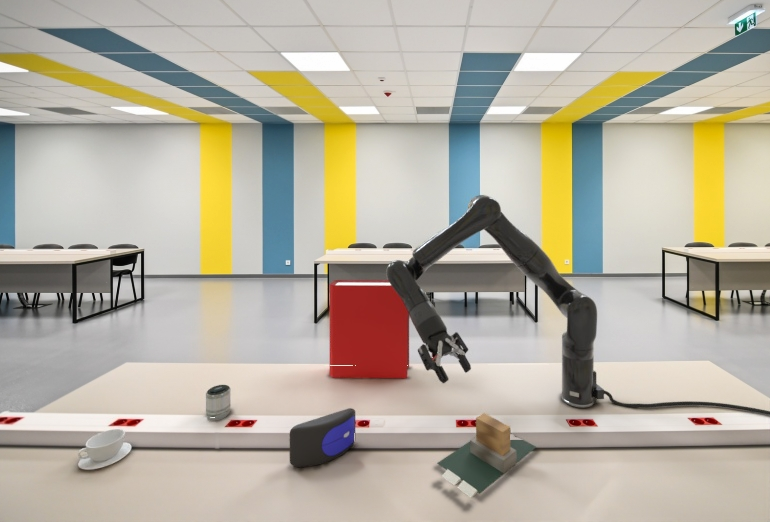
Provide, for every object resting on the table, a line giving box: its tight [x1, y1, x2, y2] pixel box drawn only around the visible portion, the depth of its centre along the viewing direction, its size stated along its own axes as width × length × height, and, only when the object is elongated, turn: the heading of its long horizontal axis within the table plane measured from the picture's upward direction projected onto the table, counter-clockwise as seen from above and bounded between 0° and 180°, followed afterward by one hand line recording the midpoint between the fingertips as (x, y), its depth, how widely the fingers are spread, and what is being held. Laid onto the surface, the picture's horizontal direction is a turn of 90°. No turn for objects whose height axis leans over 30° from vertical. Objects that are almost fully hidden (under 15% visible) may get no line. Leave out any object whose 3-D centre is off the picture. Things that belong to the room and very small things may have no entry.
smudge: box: [457, 480, 478, 499], centre depth 85 cm, size 4×4×1 cm
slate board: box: [436, 439, 537, 495], centre depth 97 cm, size 22×13×1 cm, turn 134°
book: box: [328, 279, 410, 379], centre depth 142 cm, size 27×8×32 cm, turn 89°
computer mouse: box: [289, 407, 356, 468], centre depth 97 cm, size 16×5×9 cm, turn 123°
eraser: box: [469, 412, 517, 474], centre depth 96 cm, size 10×5×8 cm, turn 44°
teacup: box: [77, 428, 132, 470], centre depth 97 cm, size 10×10×5 cm
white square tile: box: [441, 469, 462, 486], centre depth 88 cm, size 4×4×1 cm
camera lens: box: [205, 384, 232, 422], centre depth 115 cm, size 6×6×8 cm
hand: (457, 376), depth 104 cm, fingers open, 8 cm apart
